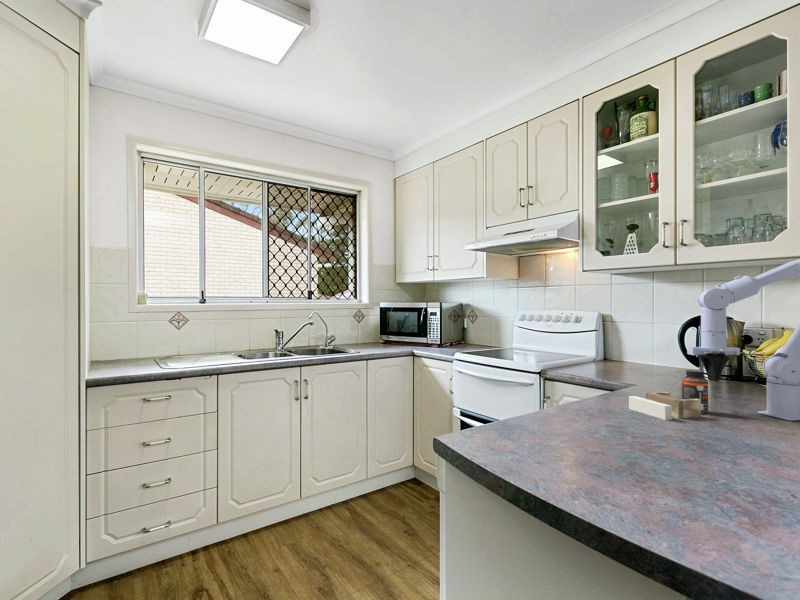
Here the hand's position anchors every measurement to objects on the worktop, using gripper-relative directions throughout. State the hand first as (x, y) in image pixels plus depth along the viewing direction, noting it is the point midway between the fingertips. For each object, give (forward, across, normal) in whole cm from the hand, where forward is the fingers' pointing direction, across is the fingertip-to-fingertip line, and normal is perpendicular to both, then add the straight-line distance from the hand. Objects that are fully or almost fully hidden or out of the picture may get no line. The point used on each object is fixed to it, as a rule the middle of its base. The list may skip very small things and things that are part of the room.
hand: (713, 380), depth 114 cm
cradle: (+8, -14, -1) cm, 16 cm away
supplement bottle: (+8, -6, -1) cm, 11 cm away
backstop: (+8, -21, -2) cm, 23 cm away
